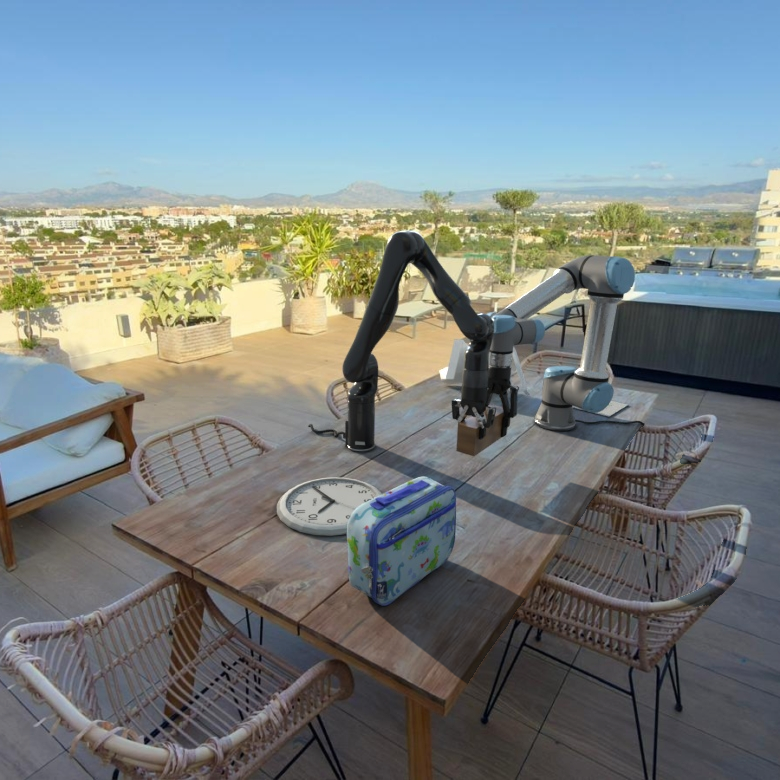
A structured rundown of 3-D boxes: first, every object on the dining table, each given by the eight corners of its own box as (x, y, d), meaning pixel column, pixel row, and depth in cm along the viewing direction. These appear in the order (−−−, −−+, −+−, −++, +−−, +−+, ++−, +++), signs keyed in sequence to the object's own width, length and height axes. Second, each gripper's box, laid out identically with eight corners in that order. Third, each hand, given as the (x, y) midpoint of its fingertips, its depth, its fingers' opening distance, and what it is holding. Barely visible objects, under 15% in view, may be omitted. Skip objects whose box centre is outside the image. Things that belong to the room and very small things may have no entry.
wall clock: (392, 527, 129) (268, 531, 127) (391, 533, 130) (269, 537, 127) (383, 473, 158) (282, 475, 155) (383, 478, 158) (282, 480, 156)
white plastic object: (461, 429, 252) (437, 405, 227) (444, 352, 274) (420, 323, 250) (535, 404, 240) (518, 377, 215) (510, 326, 262) (492, 293, 237)
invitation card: (608, 416, 214) (573, 407, 224) (608, 416, 214) (573, 408, 224) (628, 404, 229) (594, 396, 238) (628, 405, 229) (594, 397, 238)
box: (489, 429, 175) (491, 404, 173) (506, 434, 172) (509, 408, 169) (456, 451, 158) (457, 423, 156) (474, 456, 155) (476, 428, 152)
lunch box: (376, 619, 101) (377, 524, 95) (340, 592, 109) (339, 502, 102) (459, 562, 119) (465, 479, 113) (424, 542, 126) (427, 463, 120)
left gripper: (447, 381, 154) (444, 434, 159) (491, 390, 146) (487, 446, 151) (459, 375, 160) (456, 427, 165) (503, 384, 151) (498, 438, 156)
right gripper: (466, 362, 167) (462, 429, 173) (523, 372, 156) (516, 444, 163) (477, 358, 172) (473, 423, 179) (533, 367, 161) (526, 437, 168)
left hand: (471, 436), depth 158 cm, fingers closed on box, 6 cm apart
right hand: (493, 433), depth 171 cm, fingers closed on box, 6 cm apart
